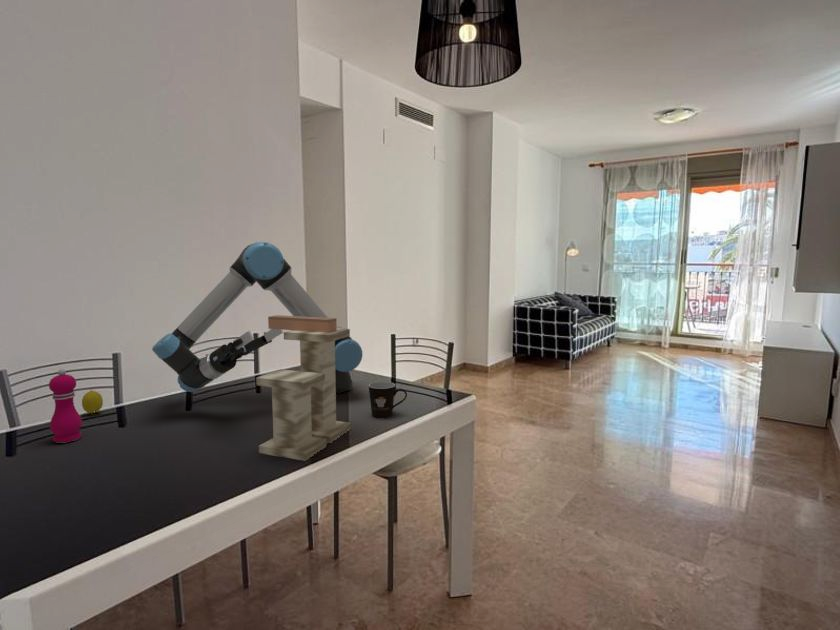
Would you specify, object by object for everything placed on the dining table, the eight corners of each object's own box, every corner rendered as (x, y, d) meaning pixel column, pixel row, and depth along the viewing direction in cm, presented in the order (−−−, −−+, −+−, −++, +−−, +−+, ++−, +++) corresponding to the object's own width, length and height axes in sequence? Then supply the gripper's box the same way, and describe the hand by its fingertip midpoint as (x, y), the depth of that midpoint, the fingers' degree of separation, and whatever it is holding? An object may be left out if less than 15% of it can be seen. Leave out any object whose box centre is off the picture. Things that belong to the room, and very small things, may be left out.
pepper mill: (58, 446, 129) (51, 373, 126) (46, 441, 132) (39, 370, 130) (88, 438, 135) (82, 368, 132) (76, 433, 138) (70, 365, 136)
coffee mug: (363, 417, 154) (363, 386, 152) (378, 409, 161) (377, 380, 160) (394, 422, 148) (394, 391, 147) (408, 415, 156) (408, 384, 155)
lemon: (81, 418, 152) (79, 393, 151) (84, 413, 157) (82, 389, 156) (102, 415, 154) (100, 391, 153) (104, 410, 159) (102, 387, 158)
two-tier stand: (351, 429, 143) (349, 328, 139) (305, 460, 120) (302, 342, 117) (310, 423, 147) (307, 326, 144) (259, 453, 125) (254, 338, 121)
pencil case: (336, 330, 136) (336, 318, 136) (329, 332, 132) (329, 319, 132) (277, 326, 143) (276, 315, 142) (268, 328, 139) (268, 316, 139)
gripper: (181, 359, 138) (230, 326, 130) (241, 344, 161) (286, 315, 154) (192, 382, 137) (243, 350, 130) (251, 364, 161) (297, 336, 153)
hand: (266, 331), depth 142 cm, fingers open, 13 cm apart
